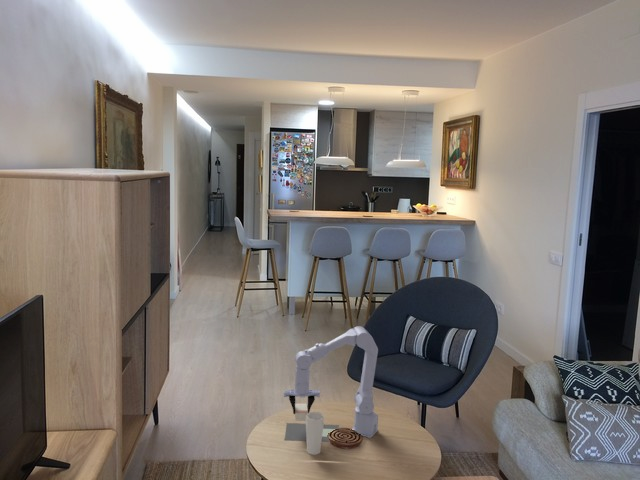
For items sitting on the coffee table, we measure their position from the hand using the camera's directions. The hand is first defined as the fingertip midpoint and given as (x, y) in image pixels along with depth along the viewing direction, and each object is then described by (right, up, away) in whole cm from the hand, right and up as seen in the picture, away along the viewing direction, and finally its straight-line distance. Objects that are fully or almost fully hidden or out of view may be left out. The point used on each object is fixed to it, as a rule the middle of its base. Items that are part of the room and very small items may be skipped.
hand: (301, 412), depth 217 cm
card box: (0, -1, 0) cm, 1 cm away
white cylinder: (+5, -11, -12) cm, 18 cm away
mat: (+5, -9, +1) cm, 10 cm away
